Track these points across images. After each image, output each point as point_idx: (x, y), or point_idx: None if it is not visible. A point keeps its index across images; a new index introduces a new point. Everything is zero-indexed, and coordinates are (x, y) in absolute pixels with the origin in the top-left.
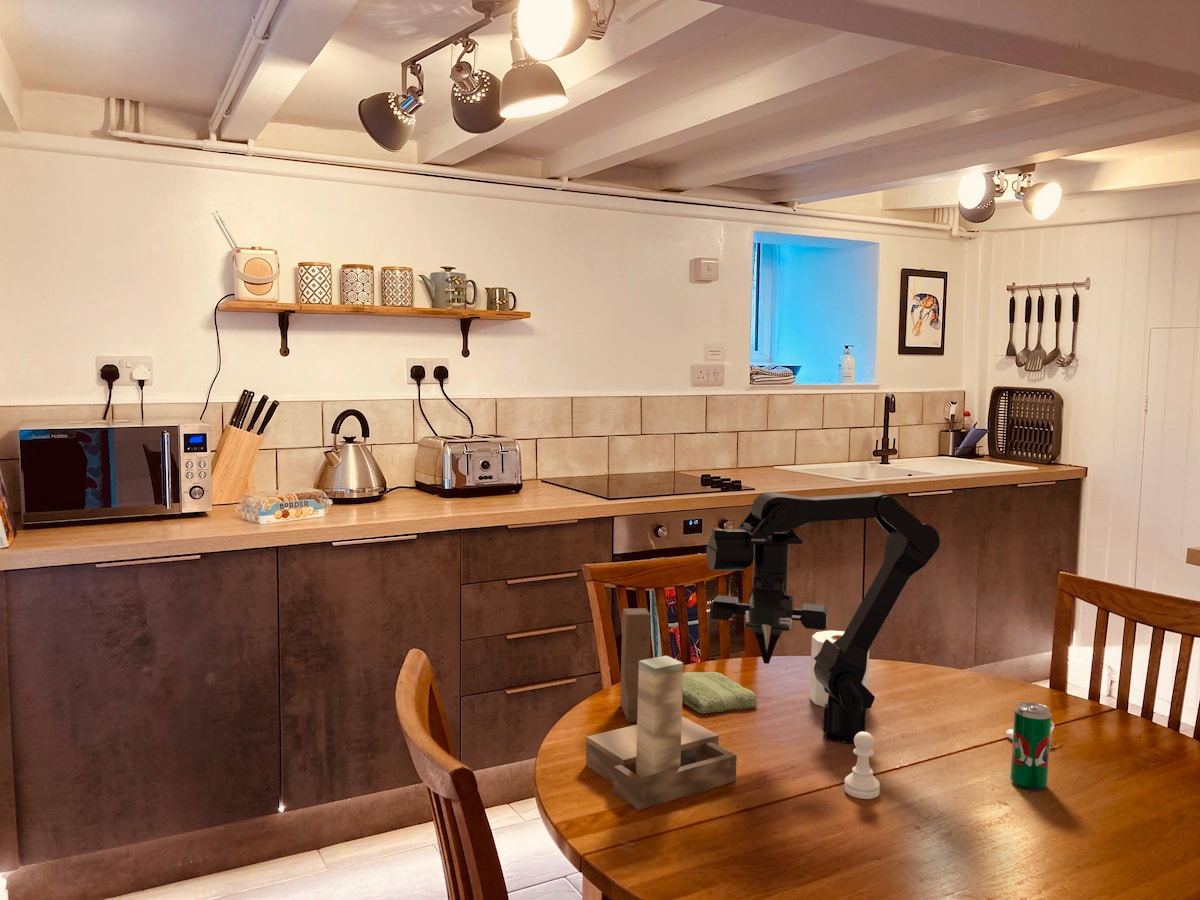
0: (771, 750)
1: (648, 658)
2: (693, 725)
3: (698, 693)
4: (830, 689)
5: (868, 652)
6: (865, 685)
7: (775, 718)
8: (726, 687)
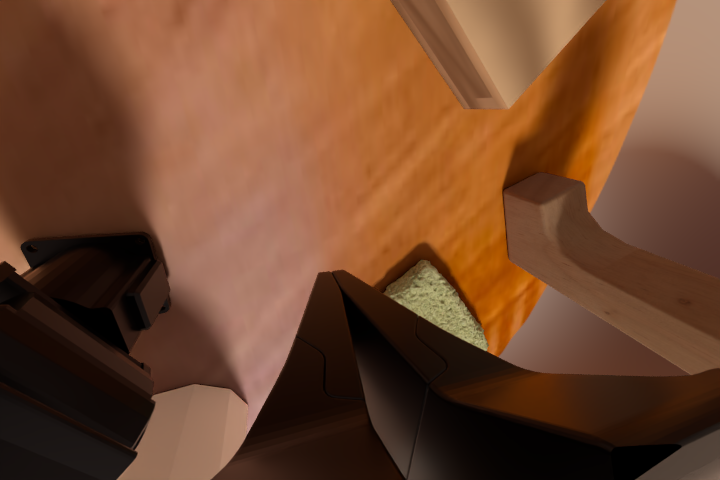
0: (264, 124)
1: (611, 279)
2: (482, 28)
3: (441, 302)
4: (27, 298)
5: None
6: None
7: (291, 299)
8: None
